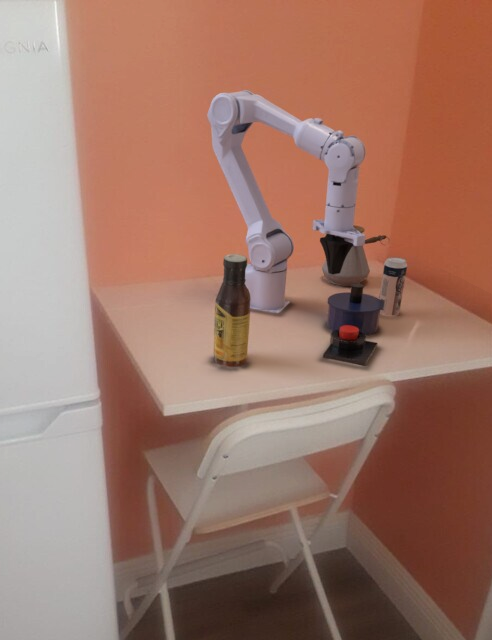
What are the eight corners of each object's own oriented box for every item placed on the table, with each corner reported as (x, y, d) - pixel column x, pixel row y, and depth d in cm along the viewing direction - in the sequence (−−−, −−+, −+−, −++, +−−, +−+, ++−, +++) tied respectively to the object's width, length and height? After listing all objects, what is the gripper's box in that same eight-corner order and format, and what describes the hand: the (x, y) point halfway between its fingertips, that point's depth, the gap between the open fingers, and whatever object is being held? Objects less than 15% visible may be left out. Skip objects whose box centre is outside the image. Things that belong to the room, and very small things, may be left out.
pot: (320, 332, 143) (323, 307, 140) (334, 316, 151) (337, 292, 148) (370, 341, 139) (374, 316, 137) (381, 324, 148) (385, 300, 145)
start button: (355, 342, 133) (356, 333, 132) (336, 338, 134) (337, 330, 133) (359, 335, 135) (361, 327, 135) (341, 332, 137) (342, 323, 136)
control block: (364, 368, 129) (367, 353, 127) (320, 359, 131) (321, 345, 130) (377, 348, 137) (379, 334, 135) (334, 340, 140) (336, 326, 138)
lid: (320, 310, 140) (322, 289, 138) (335, 294, 149) (337, 273, 147) (375, 320, 136) (379, 298, 134) (387, 302, 145) (391, 281, 143)
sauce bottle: (211, 355, 132) (214, 250, 122) (244, 355, 132) (250, 250, 122) (214, 370, 126) (218, 262, 116) (249, 370, 127) (255, 262, 117)
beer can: (399, 319, 151) (408, 264, 145) (376, 316, 151) (385, 262, 145) (398, 311, 155) (407, 257, 149) (376, 309, 155) (384, 255, 149)
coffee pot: (312, 275, 175) (319, 214, 167) (353, 272, 178) (361, 211, 171) (354, 304, 158) (363, 238, 150) (398, 300, 161) (409, 234, 153)
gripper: (302, 199, 140) (297, 266, 147) (347, 214, 129) (339, 285, 136) (331, 196, 143) (325, 262, 150) (377, 210, 132) (368, 280, 139)
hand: (334, 273), depth 143 cm, fingers closed
